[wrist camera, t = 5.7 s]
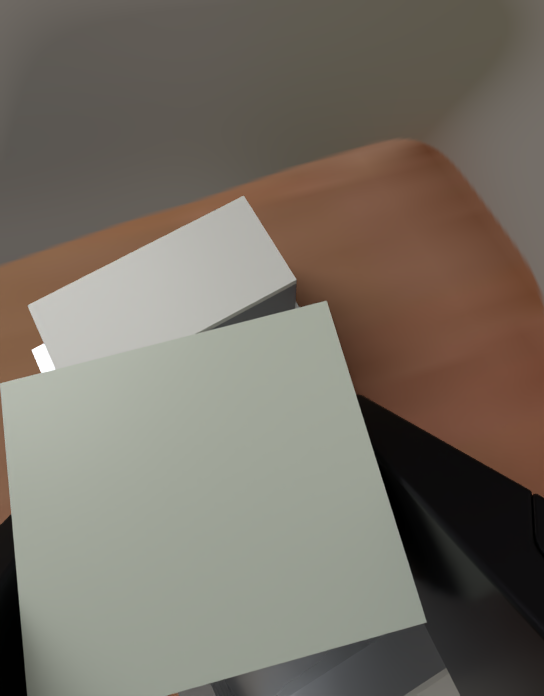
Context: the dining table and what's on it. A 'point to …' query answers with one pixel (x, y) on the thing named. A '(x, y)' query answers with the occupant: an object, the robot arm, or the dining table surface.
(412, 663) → the block
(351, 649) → the grey base plate
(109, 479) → the block
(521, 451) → the dining table surface
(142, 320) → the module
